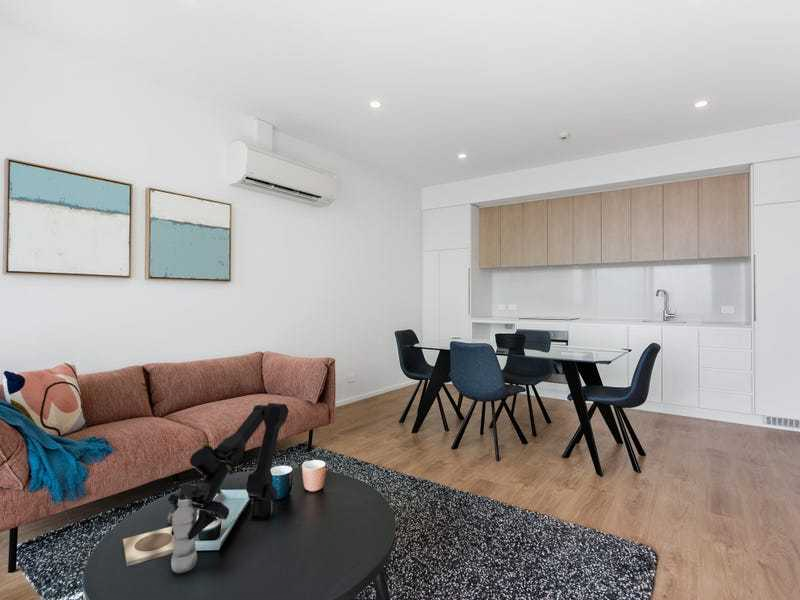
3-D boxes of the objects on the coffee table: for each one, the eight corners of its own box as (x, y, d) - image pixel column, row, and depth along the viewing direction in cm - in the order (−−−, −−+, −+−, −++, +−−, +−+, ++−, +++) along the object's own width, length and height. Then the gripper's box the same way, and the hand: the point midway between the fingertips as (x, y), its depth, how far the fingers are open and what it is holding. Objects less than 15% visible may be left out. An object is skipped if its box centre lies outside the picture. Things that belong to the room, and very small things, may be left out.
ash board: (176, 528, 140) (176, 524, 140) (185, 549, 128) (185, 544, 128) (123, 542, 131) (123, 538, 131) (126, 566, 119) (126, 561, 119)
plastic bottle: (201, 563, 121) (203, 492, 122) (187, 577, 115) (189, 503, 115) (180, 561, 122) (182, 491, 123) (165, 576, 115) (167, 501, 116)
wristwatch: (166, 523, 144) (166, 508, 144) (184, 517, 148) (185, 502, 149) (169, 527, 141) (170, 511, 142) (189, 520, 146) (189, 505, 146)
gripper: (173, 465, 126) (138, 519, 115) (222, 474, 119) (190, 532, 109) (194, 482, 133) (162, 534, 122) (241, 491, 127) (212, 548, 116)
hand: (180, 537), depth 117 cm, fingers closed on plastic bottle, 6 cm apart
